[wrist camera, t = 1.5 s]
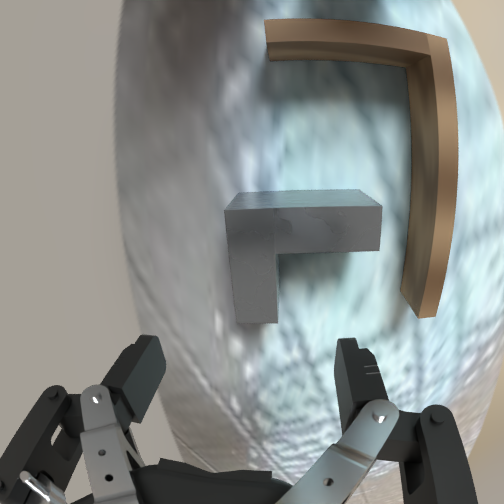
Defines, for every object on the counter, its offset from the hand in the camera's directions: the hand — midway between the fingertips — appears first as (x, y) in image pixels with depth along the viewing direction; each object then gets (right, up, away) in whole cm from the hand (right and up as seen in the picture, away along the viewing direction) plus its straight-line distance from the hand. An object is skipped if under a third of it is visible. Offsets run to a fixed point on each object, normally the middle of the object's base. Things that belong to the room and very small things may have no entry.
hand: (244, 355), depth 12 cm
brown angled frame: (+8, +10, +6) cm, 14 cm away
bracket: (+4, +5, +8) cm, 11 cm away
